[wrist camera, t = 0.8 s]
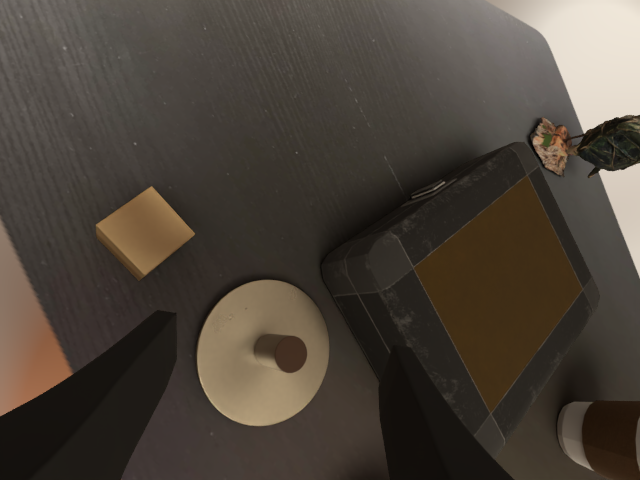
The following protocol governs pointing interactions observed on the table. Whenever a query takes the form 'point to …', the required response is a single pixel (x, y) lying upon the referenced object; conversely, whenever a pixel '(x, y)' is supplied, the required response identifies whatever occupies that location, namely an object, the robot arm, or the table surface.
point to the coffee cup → (602, 437)
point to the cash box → (471, 288)
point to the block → (143, 232)
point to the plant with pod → (590, 145)
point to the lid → (262, 352)
